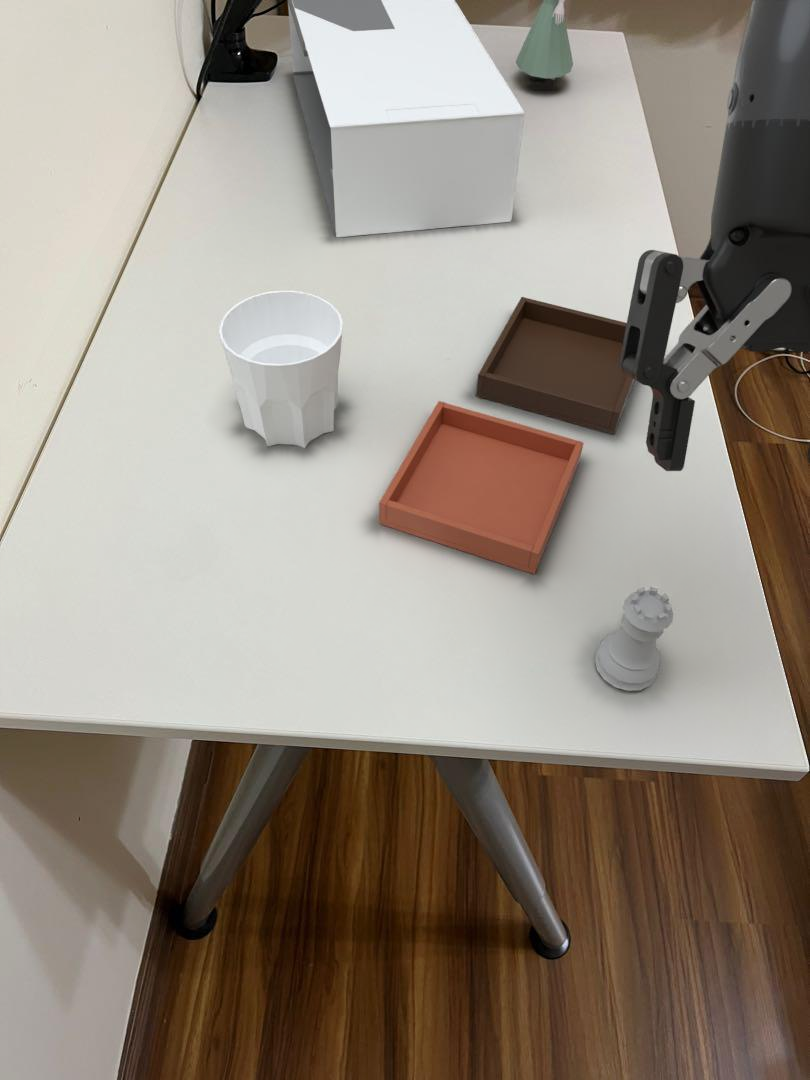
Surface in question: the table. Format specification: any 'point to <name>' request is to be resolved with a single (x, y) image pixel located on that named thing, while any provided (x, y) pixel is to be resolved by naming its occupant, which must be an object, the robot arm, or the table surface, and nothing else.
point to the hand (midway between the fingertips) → (746, 467)
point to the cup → (284, 364)
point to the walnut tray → (559, 365)
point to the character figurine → (547, 46)
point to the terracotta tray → (482, 486)
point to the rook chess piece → (635, 641)
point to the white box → (404, 115)
